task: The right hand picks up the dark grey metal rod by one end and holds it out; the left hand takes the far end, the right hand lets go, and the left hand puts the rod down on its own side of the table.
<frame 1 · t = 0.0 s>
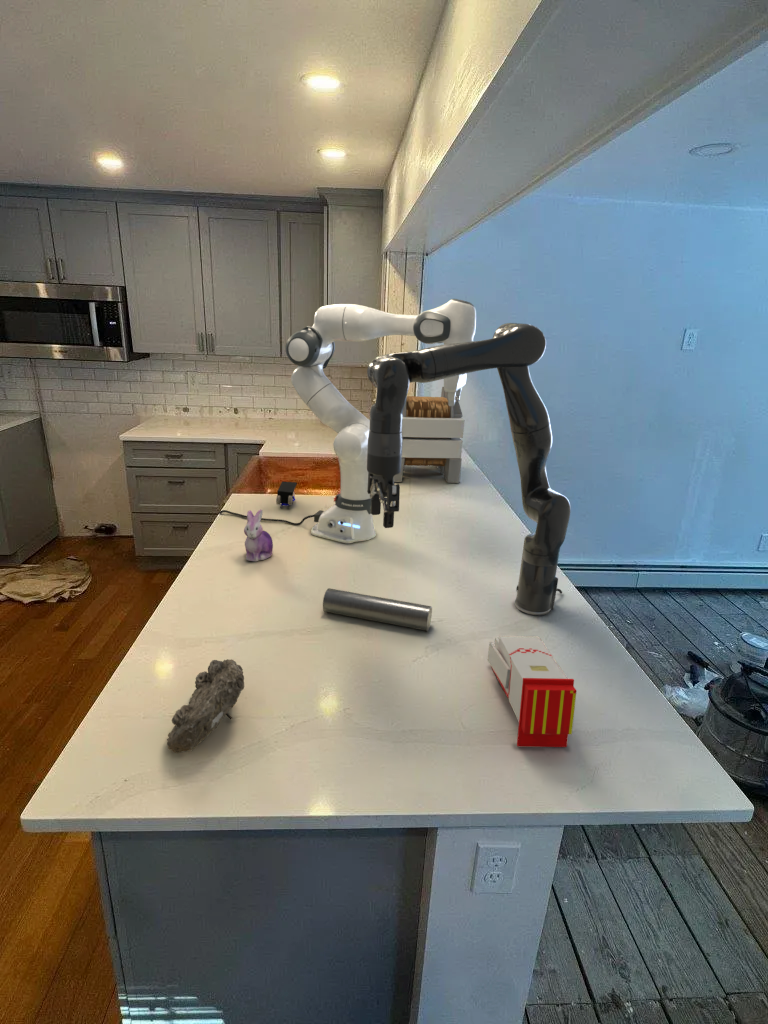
left hand: (454, 403, 174), 48 cm above the counter, tool pointing down, fingers open, 8 cm apart
right hand: (381, 520, 129), 29 cm above the counter, tool pointing down, fingers open, 8 cm apart
figurine character: (286, 504, 224), on the counter
rod: (376, 619, 145), on the counter
toy: (522, 699, 117), on the counter
figurine: (259, 556, 177), on the counter
fossil: (212, 717, 108), on the counter
transformer: (419, 473, 275), on the counter
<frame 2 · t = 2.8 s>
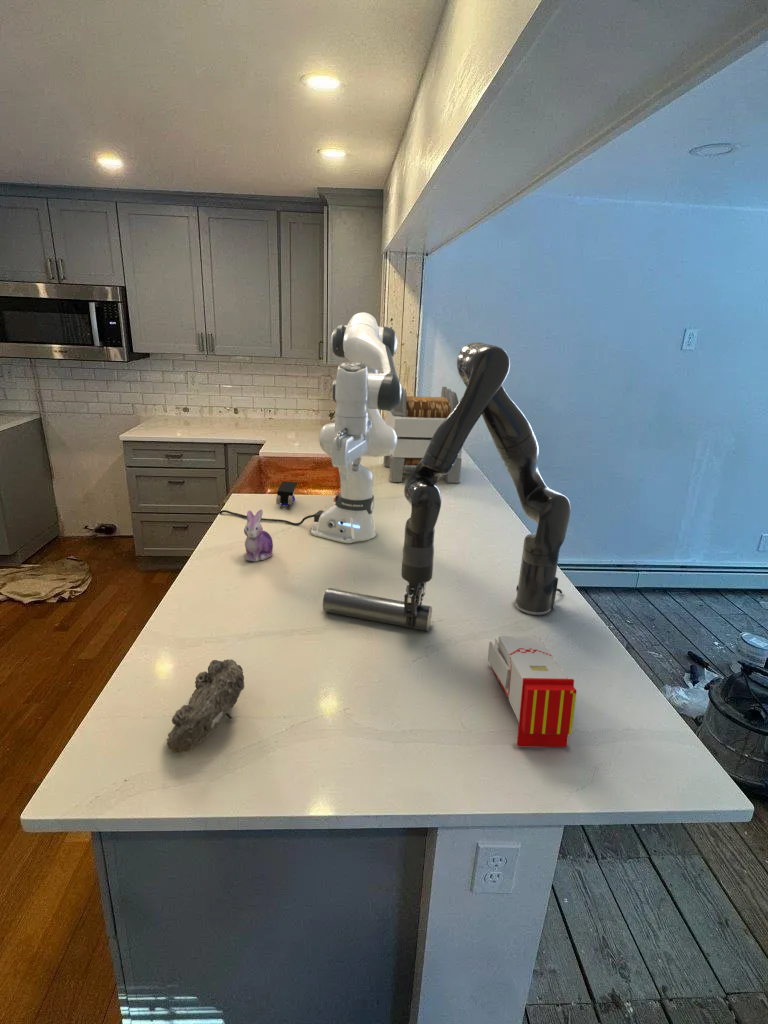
left hand: (350, 475, 156), 31 cm above the counter, tool pointing down, fingers open, 8 cm apart
right hand: (413, 620, 142), 2 cm above the counter, tool pointing down, fingers closed on rod, 6 cm apart
rod: (376, 619, 145), on the counter, touching right hand
everything else where it was.
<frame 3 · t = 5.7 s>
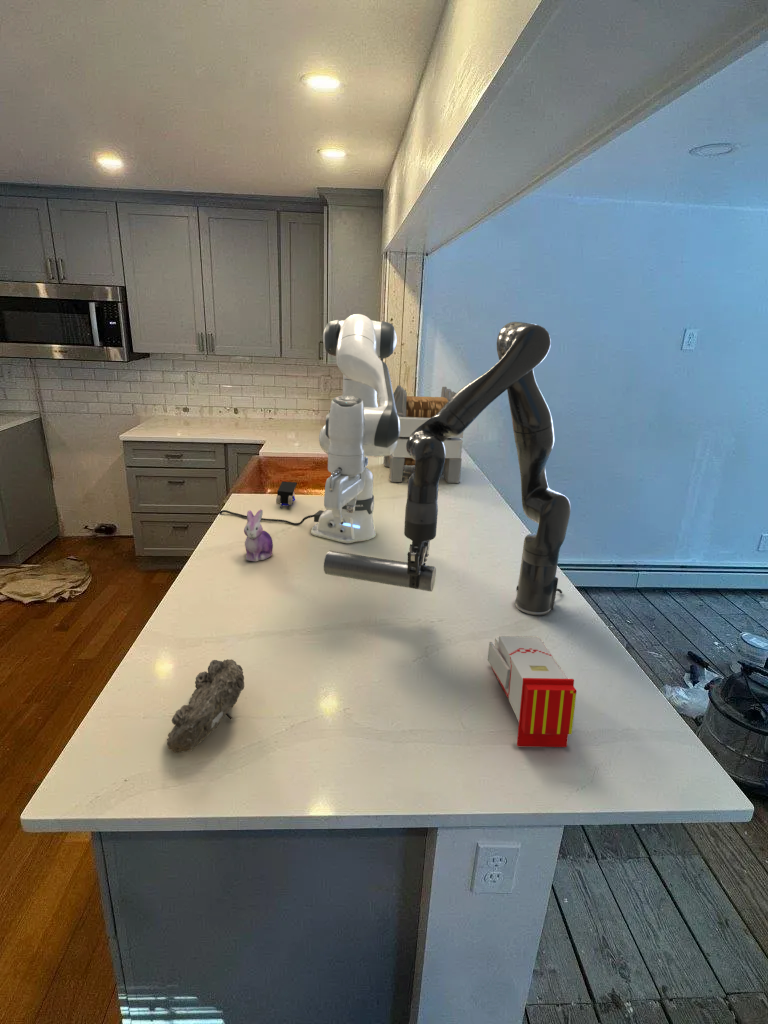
left hand: (344, 517, 143), 25 cm above the counter, tool pointing down, fingers open, 8 cm apart
right hand: (417, 581, 138), 12 cm above the counter, tool pointing down, fingers closed on rod, 6 cm apart
rod: (379, 581, 141), point 11 cm above the counter, touching right hand
everything else where it was.
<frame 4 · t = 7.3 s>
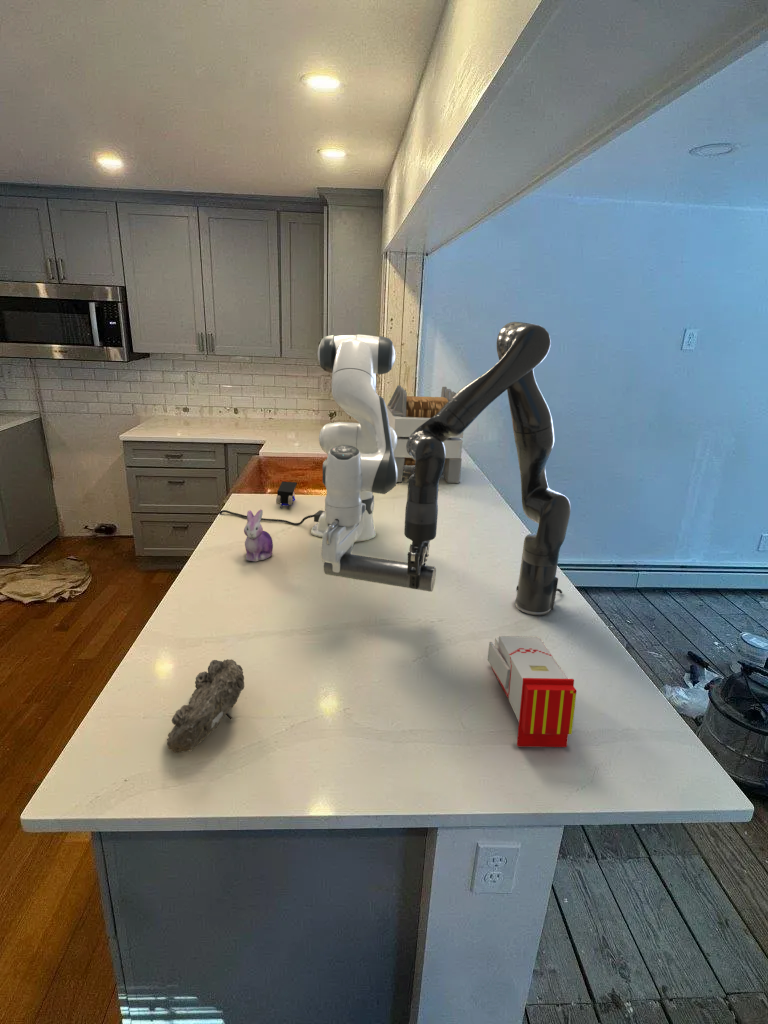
left hand: (342, 565, 142), 14 cm above the counter, tool pointing down, fingers closed on rod, 6 cm apart
right hand: (417, 581, 138), 12 cm above the counter, tool pointing down, fingers closed on rod, 6 cm apart
rod: (379, 581, 141), point 11 cm above the counter, touching left hand, right hand
everything else where it was.
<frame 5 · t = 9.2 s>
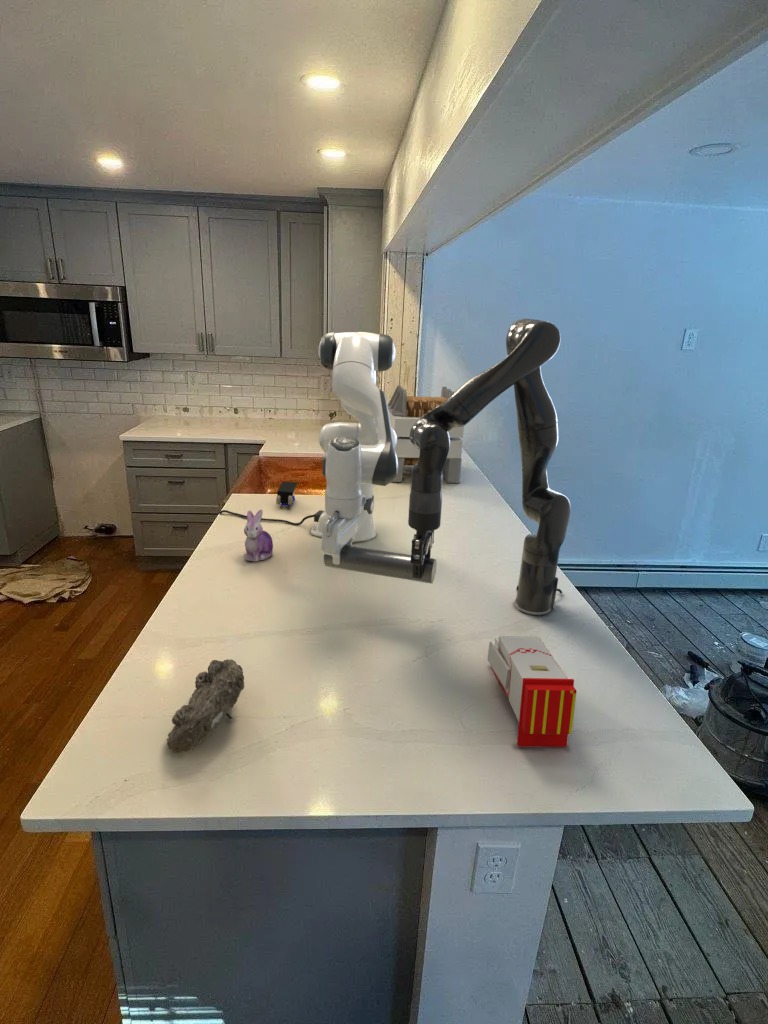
left hand: (342, 557, 142), 16 cm above the counter, tool pointing down, fingers closed on rod, 6 cm apart
right hand: (421, 570, 137), 16 cm above the counter, tool pointing down, fingers open, 8 cm apart
rod: (379, 573, 140), point 13 cm above the counter, touching left hand
everything else where it was.
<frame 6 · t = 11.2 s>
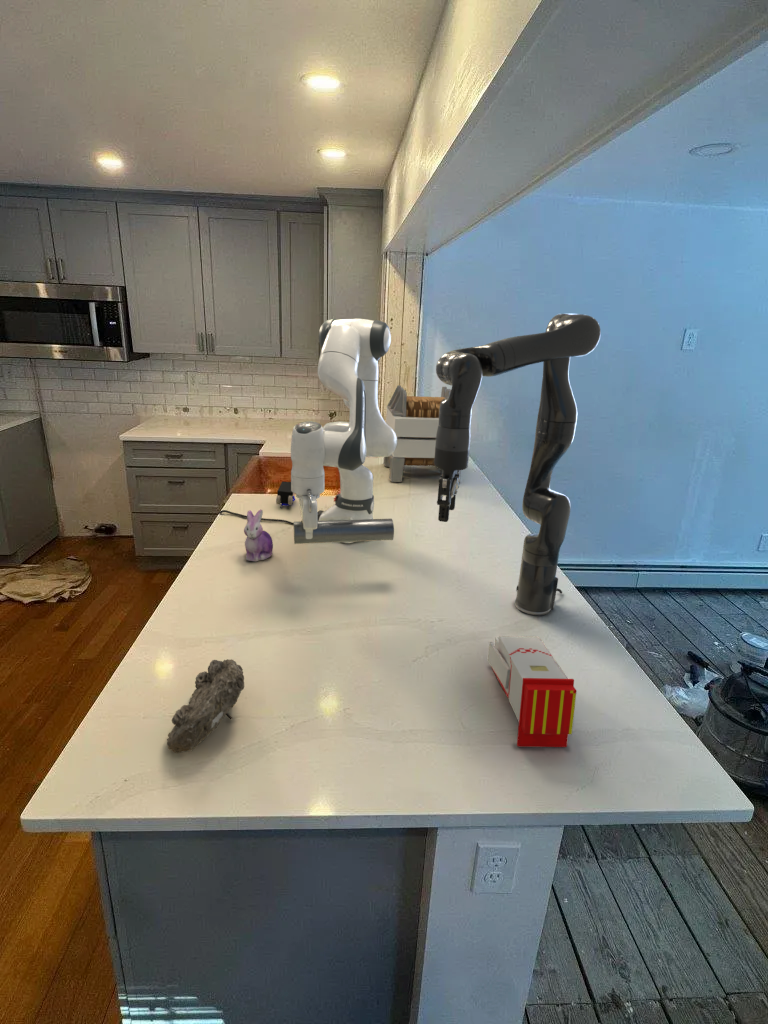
left hand: (308, 532, 155), 16 cm above the counter, tool pointing down, fingers closed on rod, 6 cm apart
right hand: (446, 515, 130), 31 cm above the counter, tool pointing down, fingers open, 8 cm apart
rod: (343, 541, 158), point 13 cm above the counter, touching left hand
everything else where it was.
when the left hand's fingers open (4 cm above the counter, at t = 12.9 s): rod stays where it is, on the counter.
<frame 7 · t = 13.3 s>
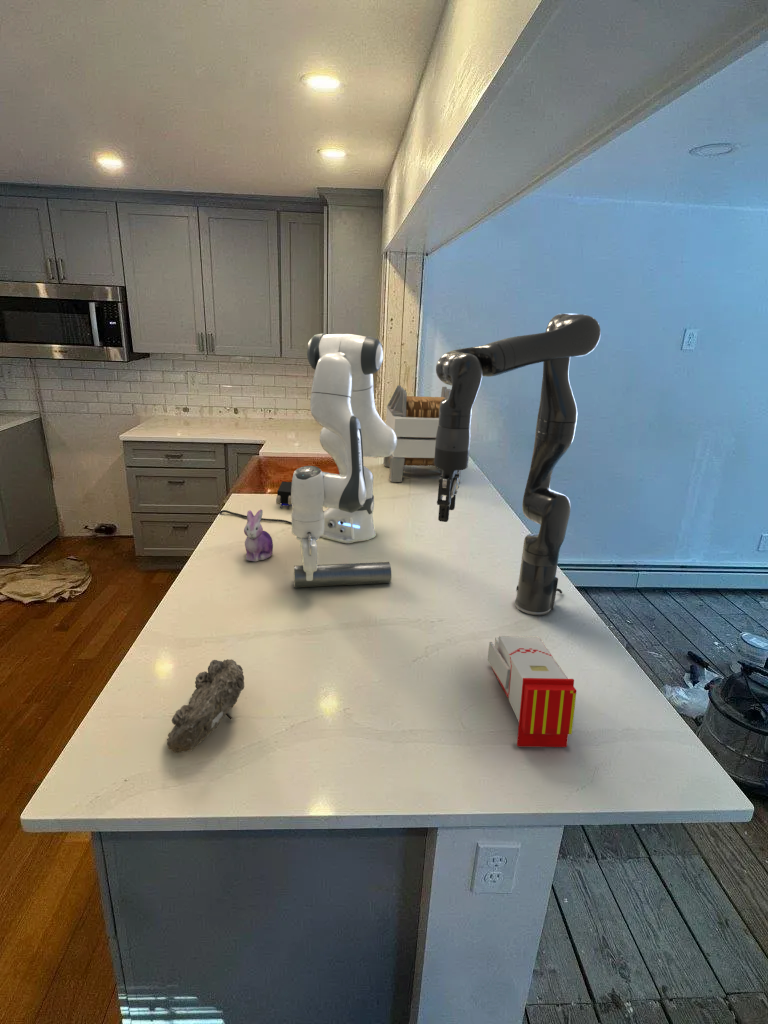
left hand: (308, 571, 159), 4 cm above the counter, tool pointing down, fingers open, 8 cm apart
right hand: (446, 515, 130), 31 cm above the counter, tool pointing down, fingers open, 8 cm apart
rod: (342, 583, 162), on the counter
everything else where it was.
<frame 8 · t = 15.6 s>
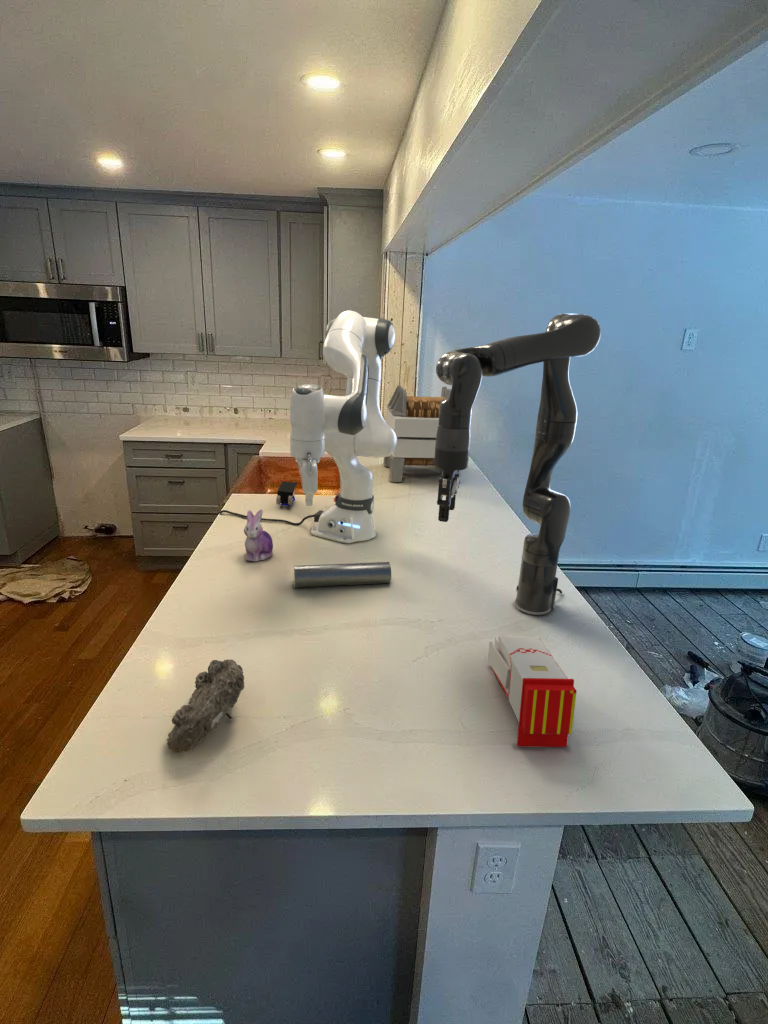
left hand: (307, 499, 151), 26 cm above the counter, tool pointing down, fingers open, 8 cm apart
right hand: (446, 515, 130), 31 cm above the counter, tool pointing down, fingers open, 8 cm apart
nothing on the counter moved.
at the end: rod inside the target area (9.7 cm from its centre), on the counter; the left hand is holding nothing; the right hand is holding nothing; rod at rest at the end (0.0 cm/s) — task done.
